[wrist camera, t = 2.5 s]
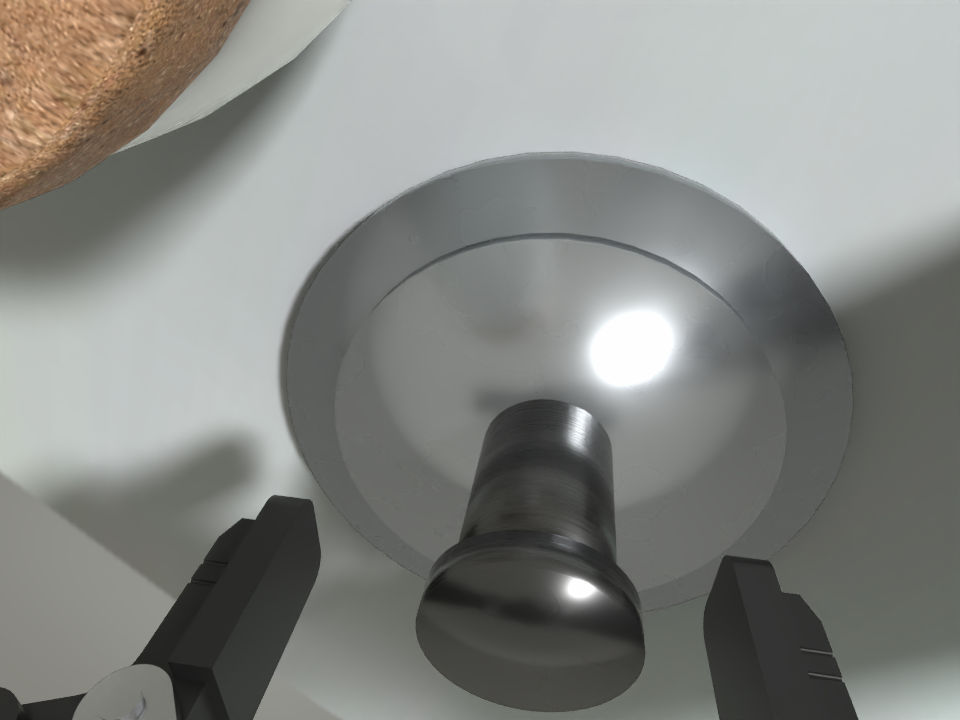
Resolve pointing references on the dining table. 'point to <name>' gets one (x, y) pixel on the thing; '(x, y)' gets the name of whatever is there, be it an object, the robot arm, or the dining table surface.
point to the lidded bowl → (129, 74)
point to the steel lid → (565, 408)
